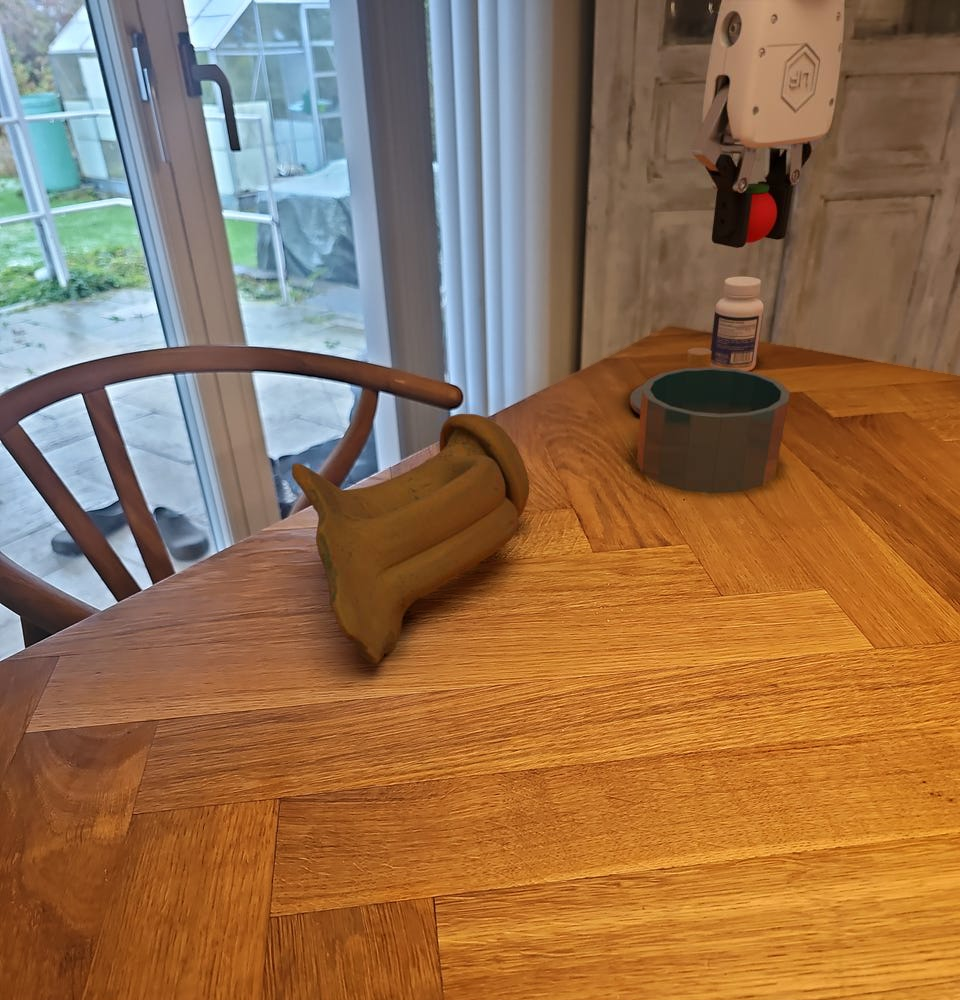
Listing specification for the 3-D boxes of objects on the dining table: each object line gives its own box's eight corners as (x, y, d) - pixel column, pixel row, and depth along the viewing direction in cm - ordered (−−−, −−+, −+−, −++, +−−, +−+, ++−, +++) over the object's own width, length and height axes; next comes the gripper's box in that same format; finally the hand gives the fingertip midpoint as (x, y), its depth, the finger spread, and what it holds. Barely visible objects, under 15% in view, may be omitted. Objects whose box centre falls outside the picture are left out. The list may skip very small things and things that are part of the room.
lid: (736, 384, 99) (743, 329, 96) (776, 429, 88) (787, 368, 85) (618, 391, 99) (622, 335, 95) (644, 437, 88) (649, 376, 84)
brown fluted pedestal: (189, 492, 63) (428, 373, 72) (270, 642, 69) (482, 515, 78) (282, 507, 48) (570, 354, 57) (375, 698, 54) (625, 531, 62)
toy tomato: (763, 236, 74) (771, 180, 71) (779, 246, 71) (788, 188, 68) (716, 238, 74) (723, 182, 71) (730, 248, 71) (737, 190, 68)
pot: (750, 439, 86) (761, 363, 82) (795, 494, 76) (811, 411, 72) (625, 447, 86) (630, 371, 82) (654, 503, 76) (661, 420, 72)
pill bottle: (719, 356, 107) (730, 272, 102) (762, 363, 105) (775, 277, 99) (701, 369, 104) (710, 282, 98) (744, 376, 101) (757, 288, 96)
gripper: (743, -45, 55) (708, 264, 66) (907, -45, 63) (852, 234, 73) (660, -37, 60) (640, 248, 71) (821, -38, 68) (781, 221, 78)
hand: (748, 238), depth 72 cm, fingers closed on toy tomato, 3 cm apart
